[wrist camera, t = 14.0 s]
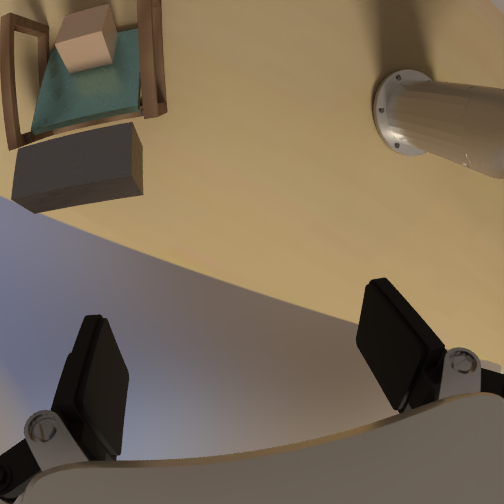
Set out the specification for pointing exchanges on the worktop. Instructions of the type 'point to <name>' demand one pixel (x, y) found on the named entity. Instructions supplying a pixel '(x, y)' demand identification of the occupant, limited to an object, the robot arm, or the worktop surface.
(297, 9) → the worktop surface
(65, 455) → the robot arm
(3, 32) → the frame
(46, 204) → the chair seat and backrest
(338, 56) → the worktop surface
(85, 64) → the pinkish beige cube
